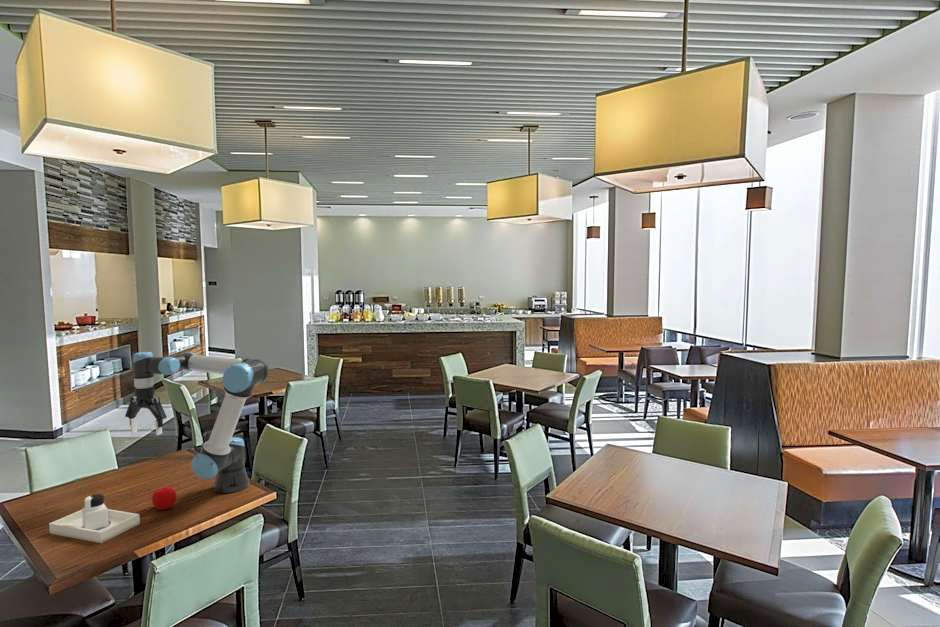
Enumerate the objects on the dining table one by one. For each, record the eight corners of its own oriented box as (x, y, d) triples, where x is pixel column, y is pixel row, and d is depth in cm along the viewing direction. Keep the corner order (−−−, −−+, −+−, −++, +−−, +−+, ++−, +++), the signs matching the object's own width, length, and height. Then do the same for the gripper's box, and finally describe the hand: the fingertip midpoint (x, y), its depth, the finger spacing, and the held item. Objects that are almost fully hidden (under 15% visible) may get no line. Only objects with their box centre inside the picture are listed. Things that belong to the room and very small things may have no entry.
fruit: (154, 505, 226) (153, 482, 225) (177, 501, 229) (177, 479, 228) (150, 514, 217) (149, 490, 216) (175, 510, 221) (174, 487, 220)
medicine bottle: (104, 520, 209) (103, 490, 209) (108, 526, 204) (107, 496, 204) (82, 526, 204) (81, 496, 204) (86, 532, 199) (84, 501, 199)
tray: (139, 524, 208) (139, 514, 208) (101, 543, 193) (100, 532, 193) (90, 515, 216) (90, 506, 216) (49, 533, 201) (49, 523, 200)
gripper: (174, 386, 235) (176, 432, 237) (129, 384, 241) (131, 429, 243) (160, 389, 228) (162, 437, 229) (114, 387, 234) (116, 434, 235)
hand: (146, 433), depth 236 cm, fingers open, 13 cm apart
